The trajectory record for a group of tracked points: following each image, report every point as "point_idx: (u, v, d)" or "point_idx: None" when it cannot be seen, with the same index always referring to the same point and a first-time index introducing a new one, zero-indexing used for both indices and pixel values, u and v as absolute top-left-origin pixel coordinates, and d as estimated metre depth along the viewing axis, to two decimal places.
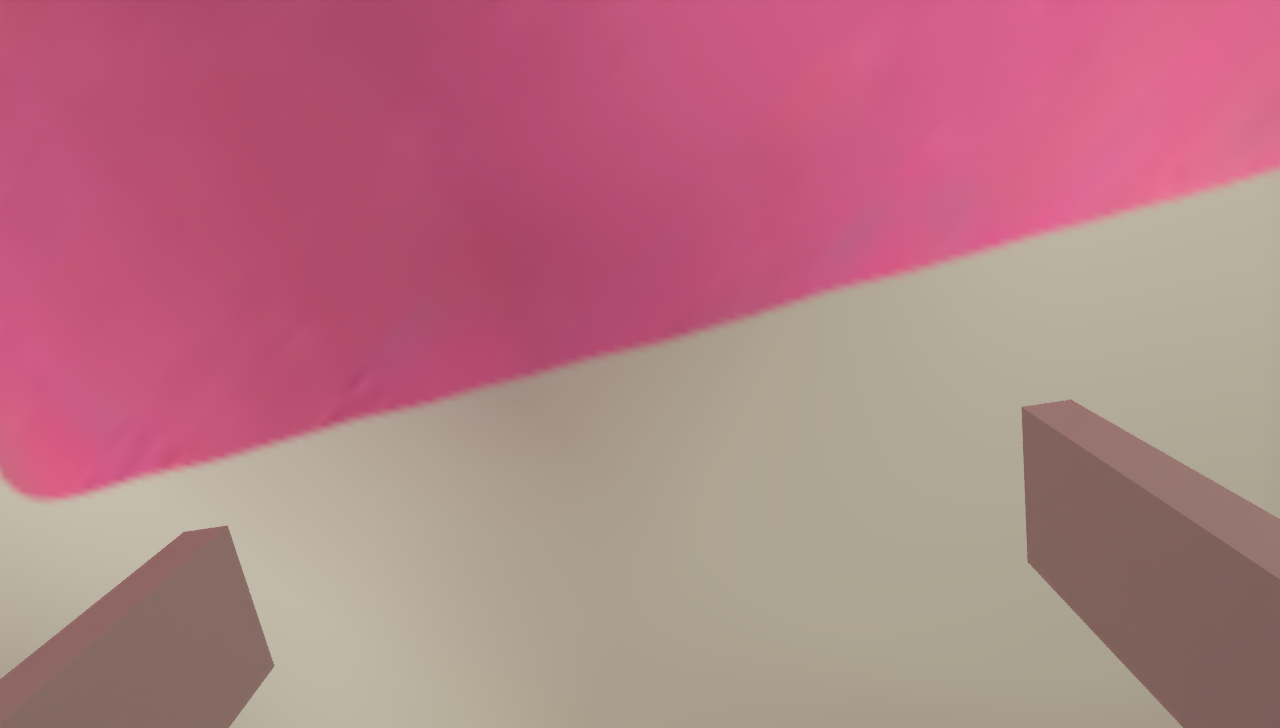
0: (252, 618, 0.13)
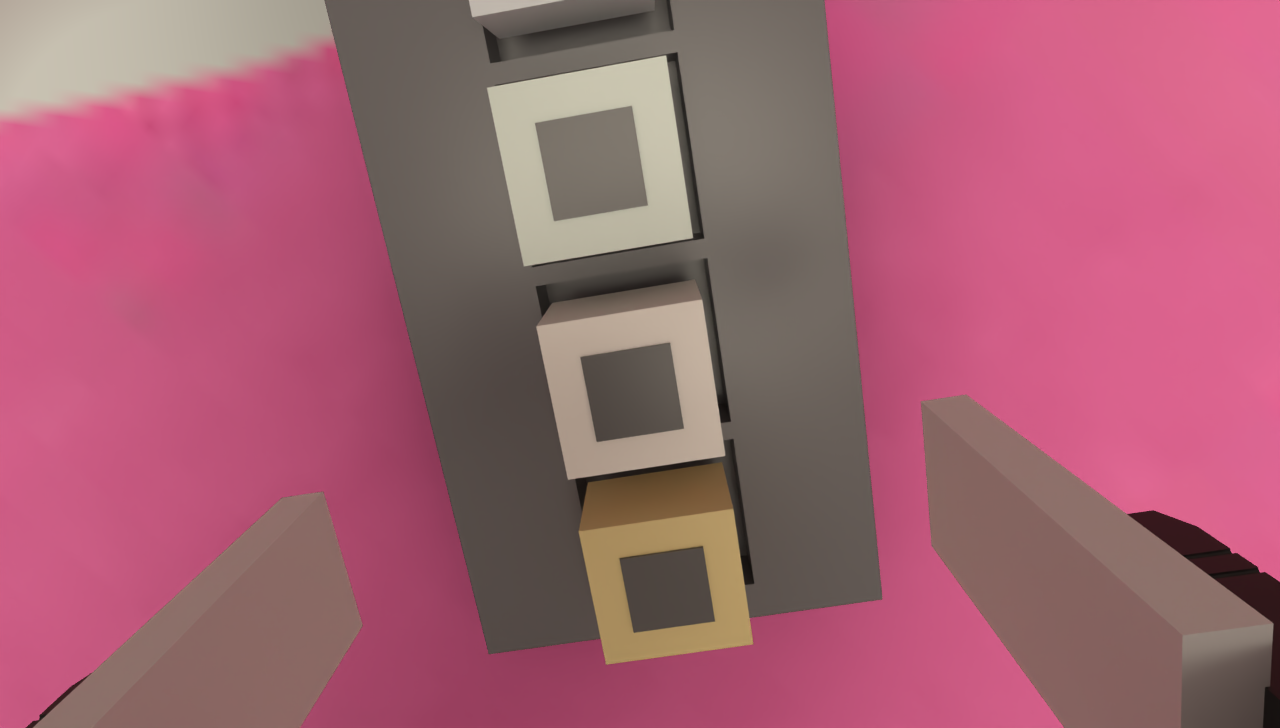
0: (344, 579, 0.14)
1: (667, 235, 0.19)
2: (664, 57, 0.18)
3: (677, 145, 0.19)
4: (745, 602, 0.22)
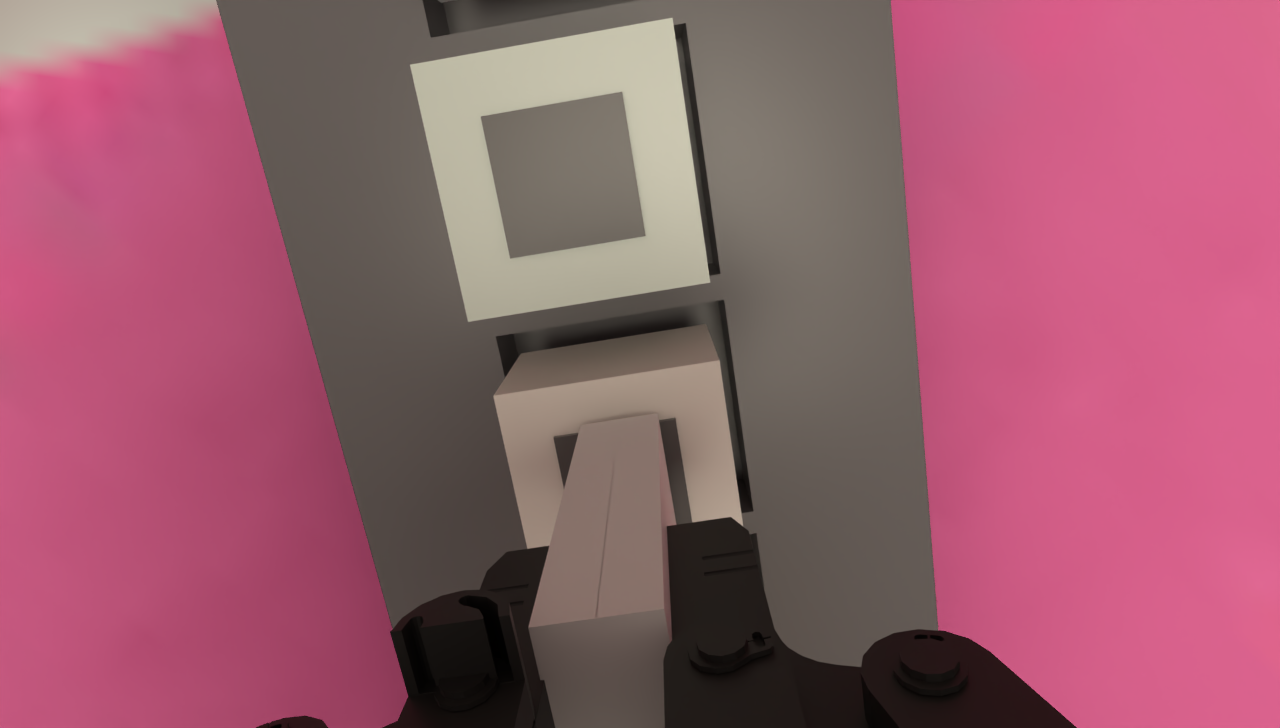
0: None
1: (673, 278, 0.14)
2: (670, 20, 0.12)
3: (688, 149, 0.13)
4: None
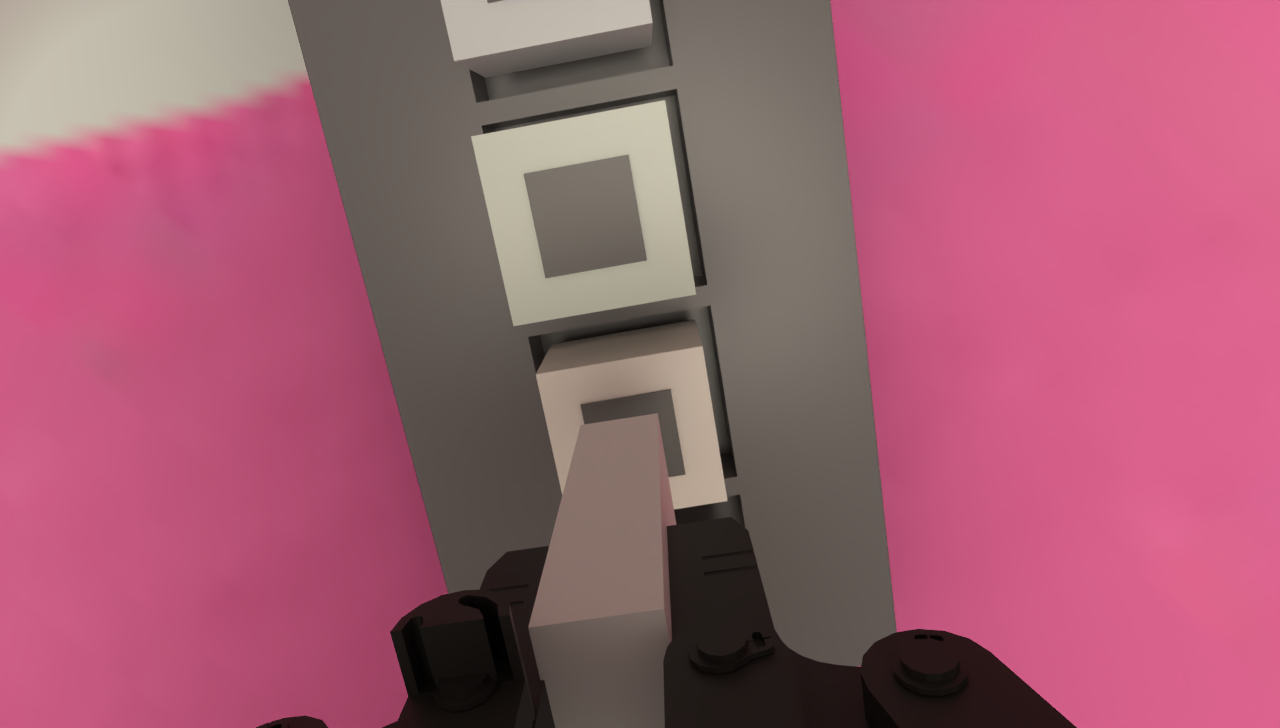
0: None
1: (668, 292, 0.18)
2: (663, 102, 0.17)
3: (678, 196, 0.17)
4: None
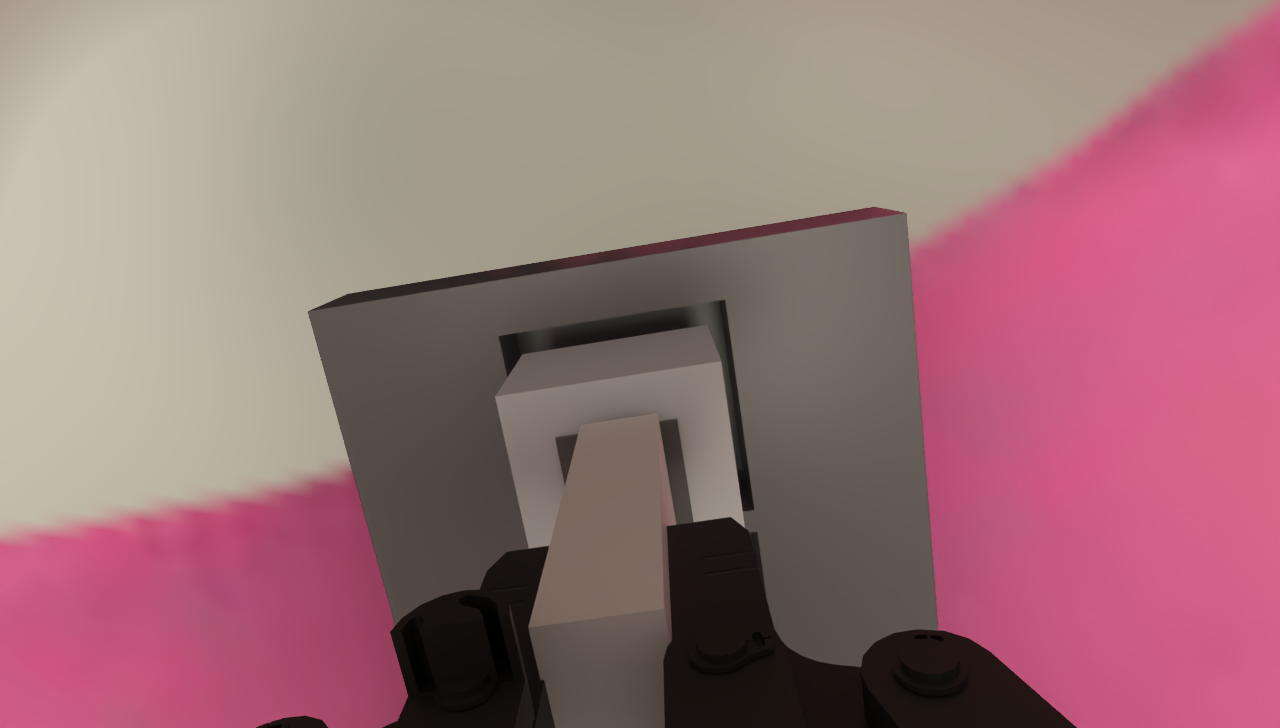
0: None
1: None
2: None
3: None
4: None
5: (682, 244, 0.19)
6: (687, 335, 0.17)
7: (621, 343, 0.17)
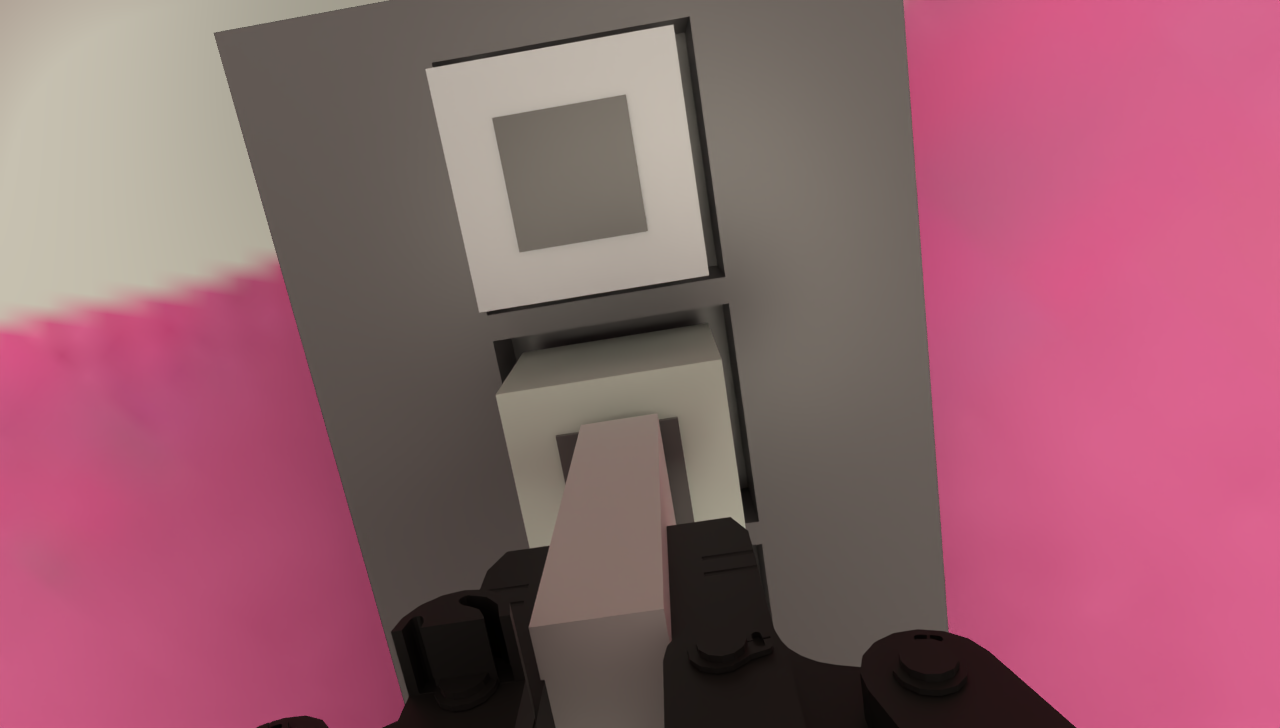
0: None
1: None
2: (719, 362, 0.15)
3: (733, 461, 0.15)
4: None
5: None
6: None
7: None
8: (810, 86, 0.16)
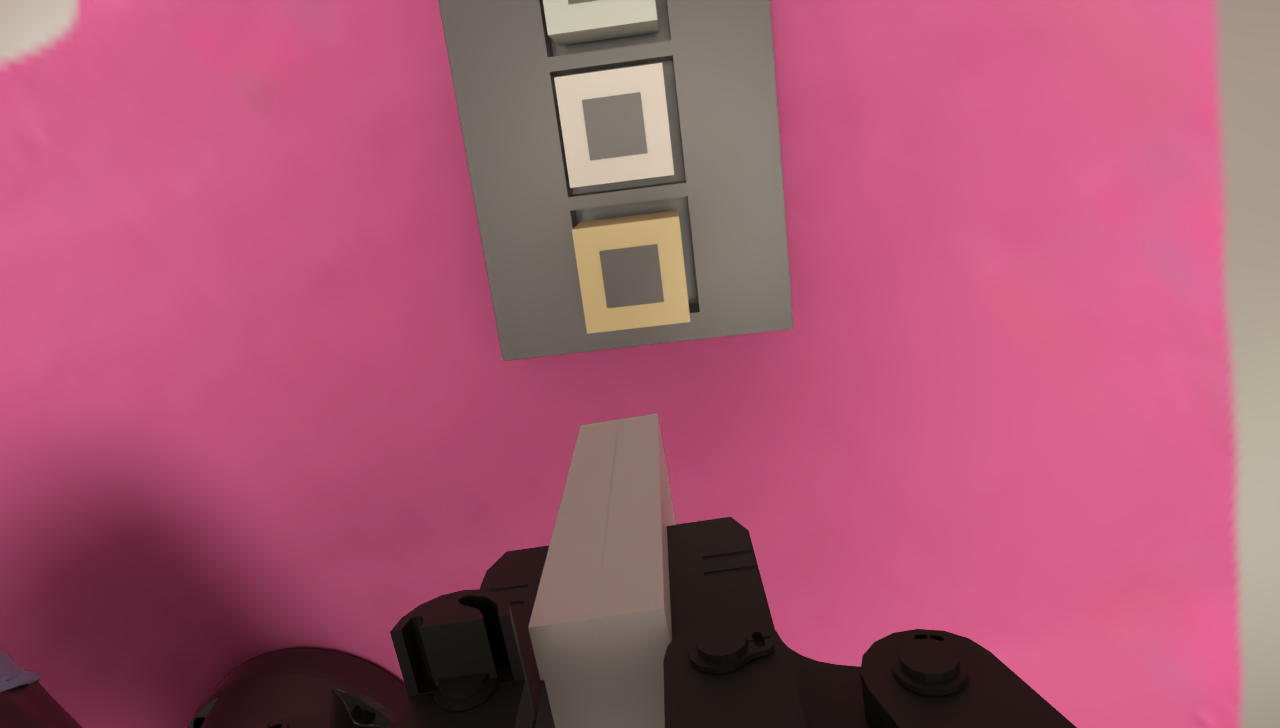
0: None
1: (640, 17, 0.30)
2: None
3: None
4: (685, 288, 0.32)
5: None
6: None
7: None
8: None
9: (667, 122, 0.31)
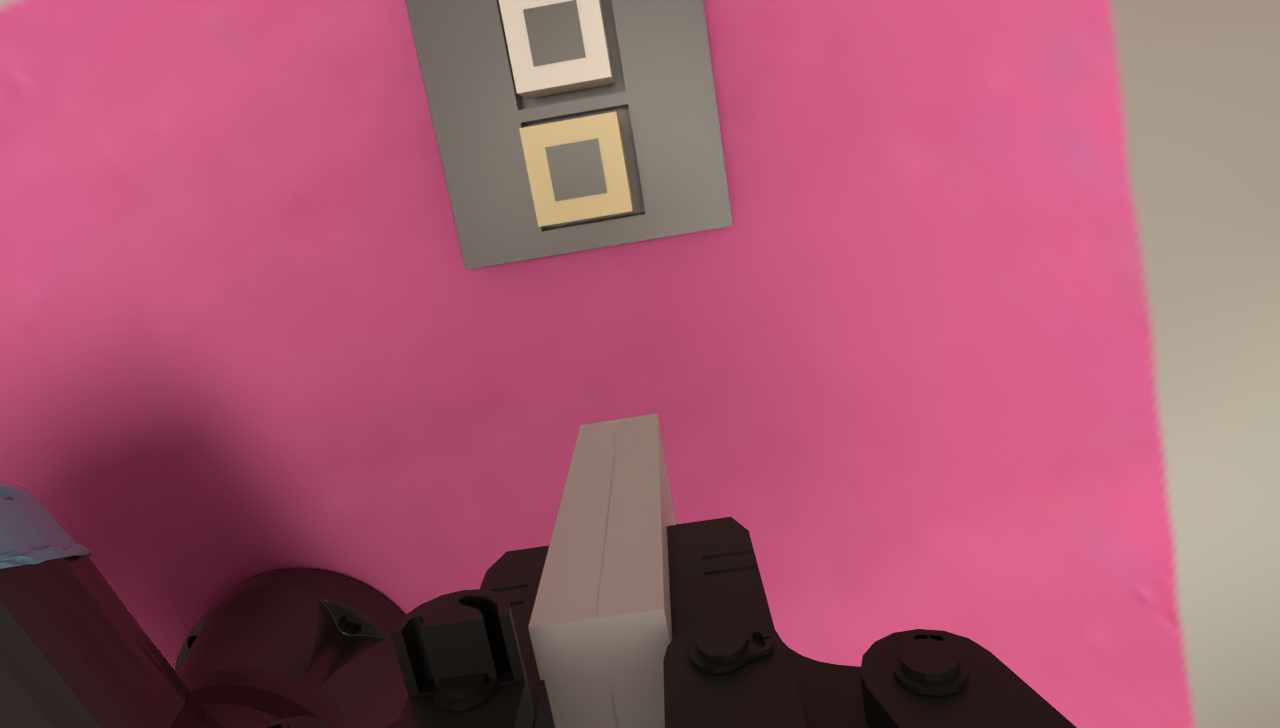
0: None
1: None
2: None
3: None
4: (626, 179, 0.35)
5: None
6: None
7: None
8: None
9: (602, 27, 0.34)
